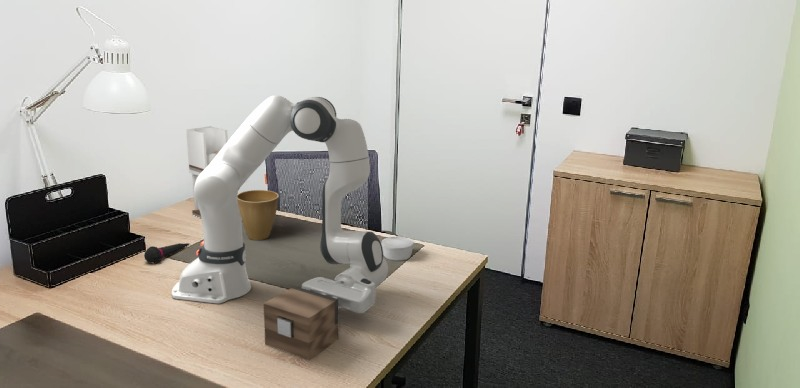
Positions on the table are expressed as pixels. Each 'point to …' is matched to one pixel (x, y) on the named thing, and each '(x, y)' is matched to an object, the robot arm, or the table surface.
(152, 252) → the microphone
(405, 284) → the table surface
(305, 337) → the block
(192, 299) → the robot arm
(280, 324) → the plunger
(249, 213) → the plant pot
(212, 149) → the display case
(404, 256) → the ramekin
